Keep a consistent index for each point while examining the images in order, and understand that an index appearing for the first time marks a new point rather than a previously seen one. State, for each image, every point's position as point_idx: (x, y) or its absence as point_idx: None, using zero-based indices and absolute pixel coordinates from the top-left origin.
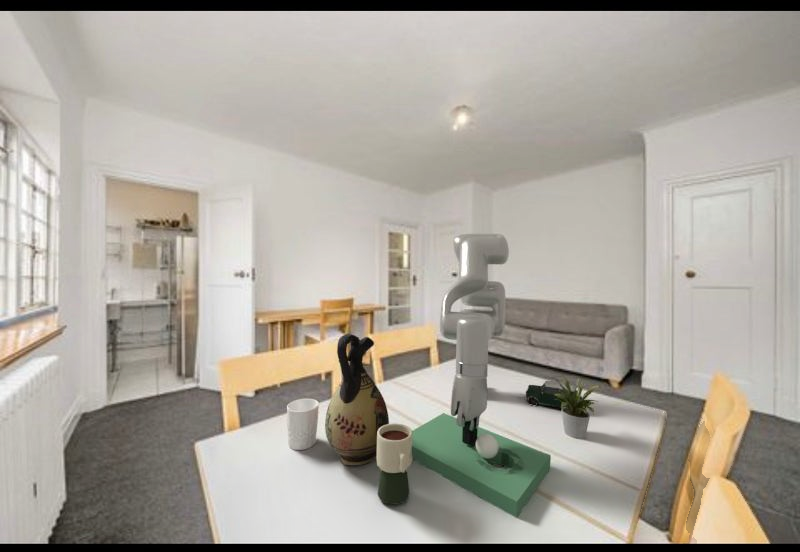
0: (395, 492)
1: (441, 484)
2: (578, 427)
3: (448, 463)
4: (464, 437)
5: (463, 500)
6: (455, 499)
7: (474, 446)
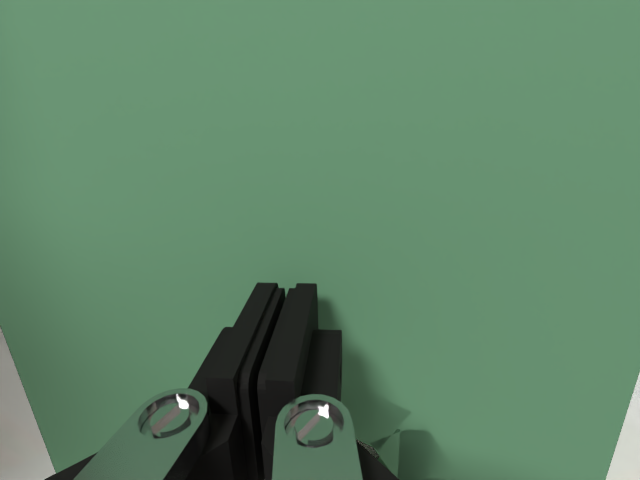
0: None
1: None
2: None
3: (11, 314)
4: (216, 347)
5: None
6: (10, 367)
7: None
